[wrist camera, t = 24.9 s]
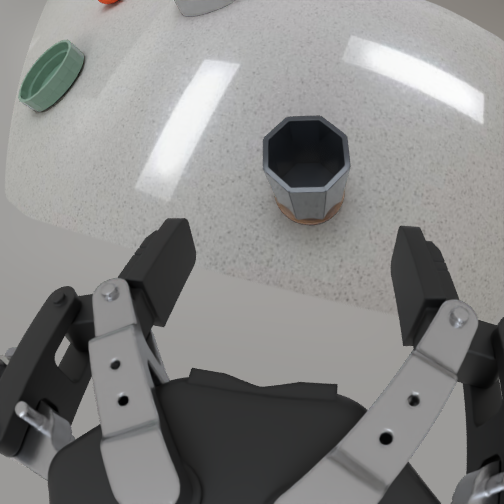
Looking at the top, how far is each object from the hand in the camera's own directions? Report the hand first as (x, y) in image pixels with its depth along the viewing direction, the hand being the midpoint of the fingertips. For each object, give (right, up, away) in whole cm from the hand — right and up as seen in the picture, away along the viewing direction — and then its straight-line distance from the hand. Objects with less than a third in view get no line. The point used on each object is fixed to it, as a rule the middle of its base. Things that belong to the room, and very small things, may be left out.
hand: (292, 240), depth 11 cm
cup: (+4, +5, +17) cm, 18 cm away
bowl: (-39, +32, +30) cm, 58 cm away
